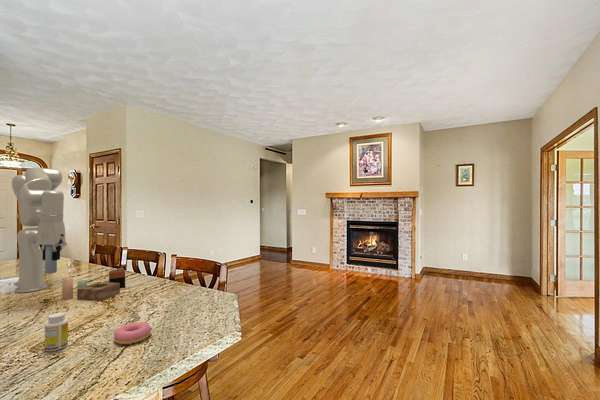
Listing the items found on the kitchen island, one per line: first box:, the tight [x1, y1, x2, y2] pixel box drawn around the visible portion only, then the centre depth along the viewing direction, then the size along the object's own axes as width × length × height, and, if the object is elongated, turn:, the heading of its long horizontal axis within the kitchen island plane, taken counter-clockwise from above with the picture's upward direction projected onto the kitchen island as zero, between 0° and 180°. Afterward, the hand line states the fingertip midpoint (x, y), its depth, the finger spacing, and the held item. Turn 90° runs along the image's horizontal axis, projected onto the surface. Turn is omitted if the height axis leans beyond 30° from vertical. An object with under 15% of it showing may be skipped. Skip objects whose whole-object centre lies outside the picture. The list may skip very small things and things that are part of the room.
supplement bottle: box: [44, 312, 69, 352], centre depth 91 cm, size 6×6×10 cm
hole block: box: [76, 281, 121, 302], centre depth 141 cm, size 12×12×5 cm
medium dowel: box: [61, 277, 74, 301], centre depth 137 cm, size 4×4×9 cm
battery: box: [108, 267, 126, 289], centre depth 155 cm, size 4×7×10 cm, turn 133°
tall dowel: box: [44, 245, 58, 275], centre depth 130 cm, size 4×4×14 cm
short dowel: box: [76, 279, 88, 290], centre depth 145 cm, size 4×4×6 cm
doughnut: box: [113, 321, 152, 345], centre depth 97 cm, size 11×11×4 cm
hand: (51, 259), depth 130 cm, fingers closed on tall dowel, 4 cm apart
